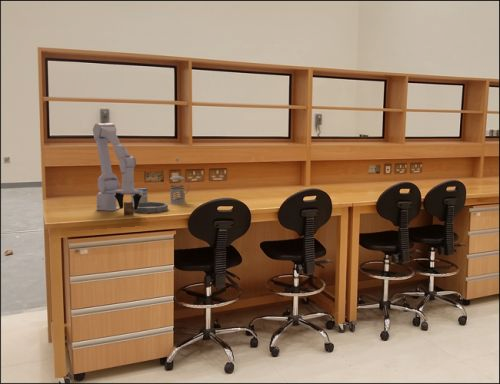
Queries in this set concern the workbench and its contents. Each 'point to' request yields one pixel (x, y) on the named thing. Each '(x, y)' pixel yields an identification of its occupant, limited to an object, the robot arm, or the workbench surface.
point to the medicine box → (144, 196)
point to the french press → (177, 188)
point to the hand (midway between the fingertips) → (128, 208)
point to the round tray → (151, 207)
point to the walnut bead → (128, 208)
